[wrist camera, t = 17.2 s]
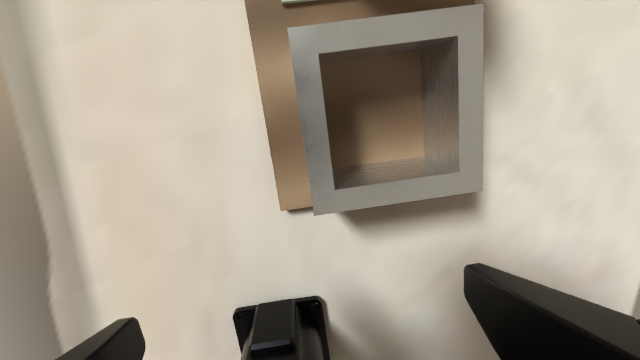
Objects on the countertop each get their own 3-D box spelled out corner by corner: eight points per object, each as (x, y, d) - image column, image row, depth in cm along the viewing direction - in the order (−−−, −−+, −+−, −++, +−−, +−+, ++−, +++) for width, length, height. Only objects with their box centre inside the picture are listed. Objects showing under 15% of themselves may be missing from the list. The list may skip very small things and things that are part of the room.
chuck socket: (443, 171, 21) (482, 191, 16) (310, 190, 20) (314, 215, 16) (439, 25, 18) (483, 3, 14) (289, 44, 18) (287, 27, 14)
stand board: (466, 178, 22) (477, 184, 21) (281, 205, 21) (280, 213, 20) (464, -230, 16) (479, -260, 15) (211, -206, 16) (203, -234, 14)
